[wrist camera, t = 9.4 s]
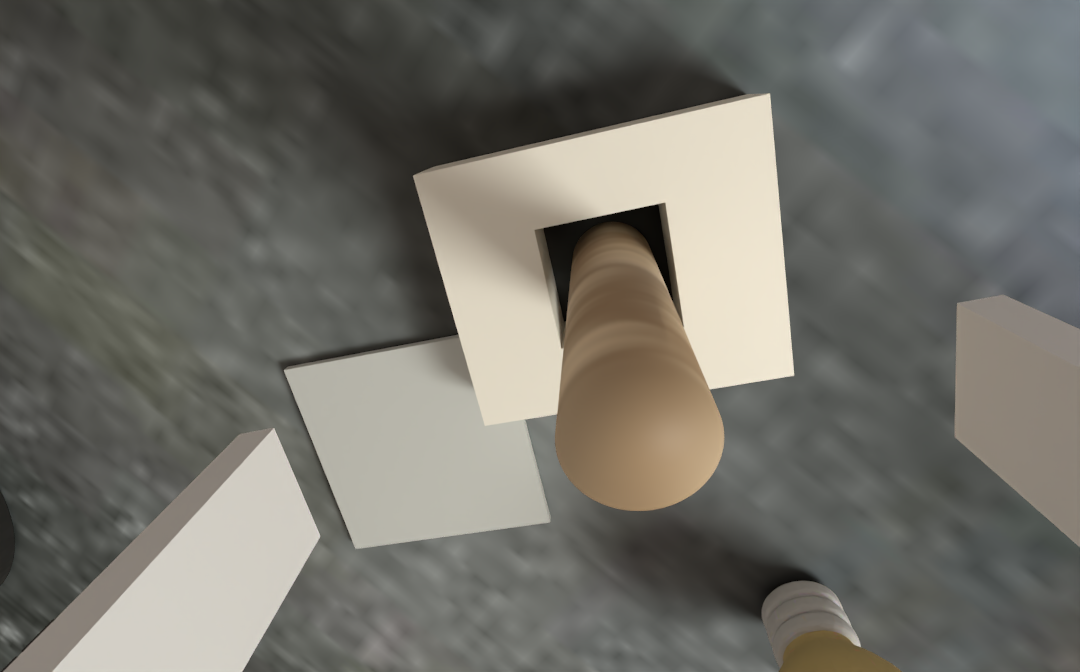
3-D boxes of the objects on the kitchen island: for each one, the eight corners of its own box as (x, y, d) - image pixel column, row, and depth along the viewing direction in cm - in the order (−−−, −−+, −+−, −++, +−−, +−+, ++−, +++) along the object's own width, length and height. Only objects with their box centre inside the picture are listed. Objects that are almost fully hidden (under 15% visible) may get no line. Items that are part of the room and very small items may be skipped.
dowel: (580, 304, 25) (572, 520, 12) (564, 230, 24) (538, 381, 11) (657, 290, 25) (733, 498, 12) (644, 213, 24) (713, 351, 11)
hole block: (495, 392, 27) (484, 425, 24) (433, 166, 24) (412, 175, 21) (771, 345, 25) (793, 375, 23) (746, 94, 22) (769, 93, 19)
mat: (358, 543, 31) (355, 548, 30) (287, 366, 27) (283, 370, 27) (550, 516, 29) (550, 522, 29) (500, 326, 26) (499, 330, 26)
